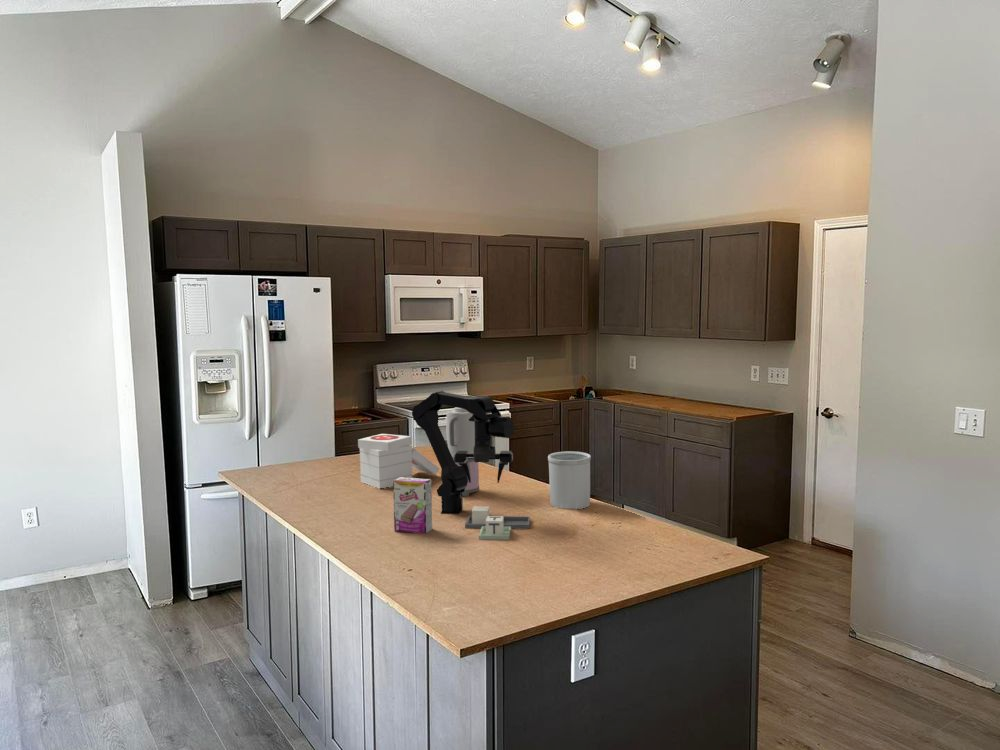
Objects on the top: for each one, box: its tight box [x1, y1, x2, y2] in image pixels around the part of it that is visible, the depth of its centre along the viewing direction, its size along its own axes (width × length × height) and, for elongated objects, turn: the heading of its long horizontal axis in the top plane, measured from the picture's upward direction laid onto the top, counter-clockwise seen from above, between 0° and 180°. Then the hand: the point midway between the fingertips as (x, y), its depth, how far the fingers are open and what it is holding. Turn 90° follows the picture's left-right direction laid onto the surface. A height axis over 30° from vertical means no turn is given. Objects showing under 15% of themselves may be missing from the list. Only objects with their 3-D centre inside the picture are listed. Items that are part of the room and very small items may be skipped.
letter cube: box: [486, 515, 504, 535], centre depth 226 cm, size 5×5×5 cm
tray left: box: [464, 515, 486, 529], centre depth 237 cm, size 9×9×2 cm
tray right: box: [503, 515, 531, 530], centre depth 236 cm, size 9×9×2 cm
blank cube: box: [471, 505, 490, 524], centre depth 237 cm, size 5×5×5 cm
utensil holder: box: [547, 450, 592, 510], centre depth 259 cm, size 15×15×18 cm
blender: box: [445, 407, 480, 497], centre depth 276 cm, size 16×12×32 cm
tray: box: [478, 526, 512, 541], centre depth 226 cm, size 9×9×2 cm
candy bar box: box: [392, 477, 433, 534], centre depth 232 cm, size 11×5×16 cm, turn 71°
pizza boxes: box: [357, 433, 440, 489], centre depth 299 cm, size 19×30×18 cm, turn 129°
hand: (484, 482), depth 244 cm, fingers open, 9 cm apart
